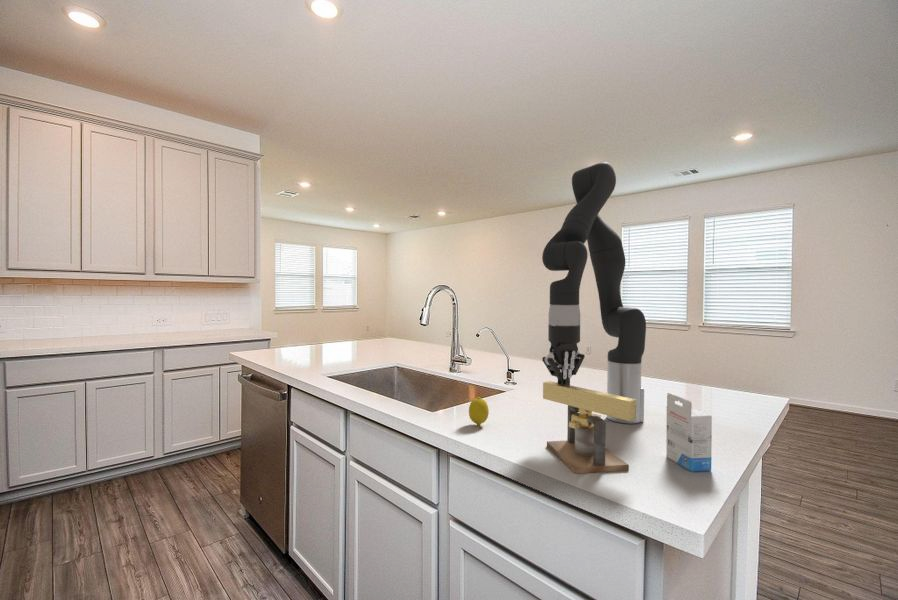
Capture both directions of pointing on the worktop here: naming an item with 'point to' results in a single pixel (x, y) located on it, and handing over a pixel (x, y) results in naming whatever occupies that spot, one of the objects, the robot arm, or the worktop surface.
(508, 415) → the worktop surface
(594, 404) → the yellow long bar
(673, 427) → the ink box
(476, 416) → the lemon
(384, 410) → the worktop surface
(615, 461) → the base
